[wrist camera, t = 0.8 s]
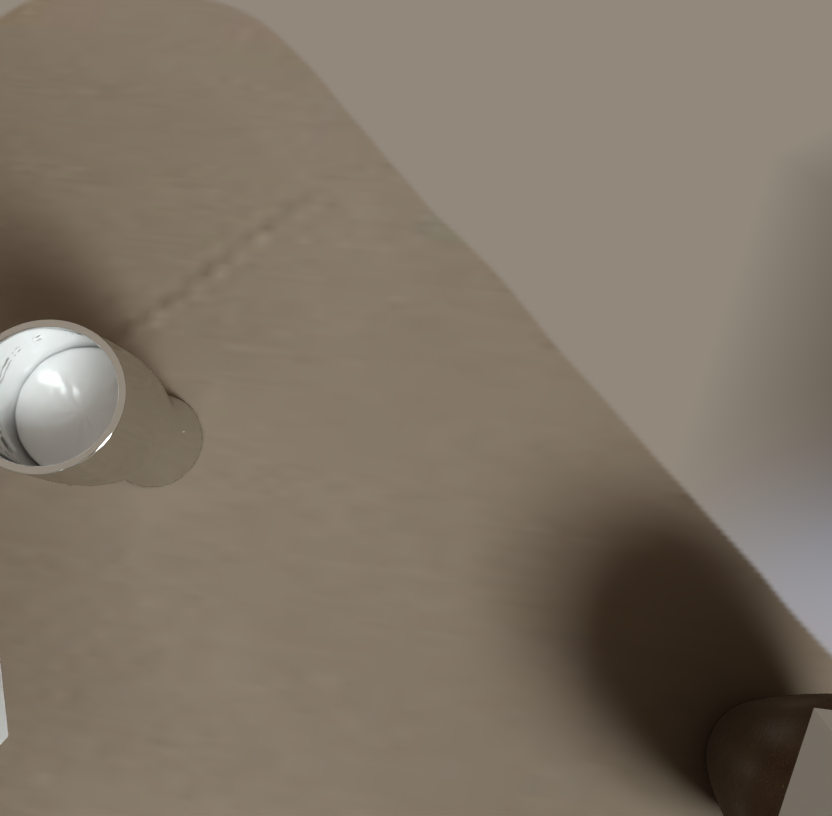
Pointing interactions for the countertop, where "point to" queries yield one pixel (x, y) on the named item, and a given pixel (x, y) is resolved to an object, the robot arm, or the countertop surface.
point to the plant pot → (758, 752)
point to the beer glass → (88, 411)
